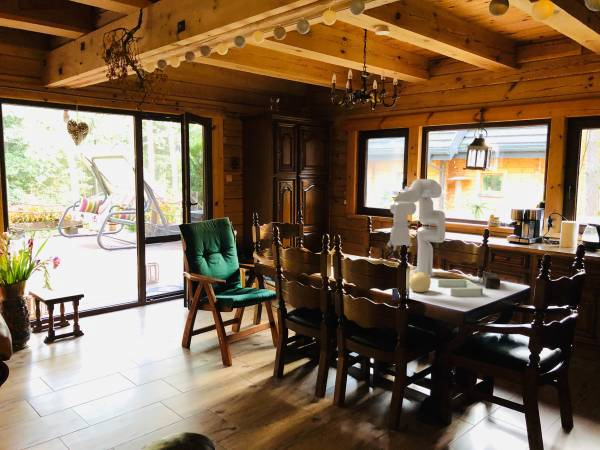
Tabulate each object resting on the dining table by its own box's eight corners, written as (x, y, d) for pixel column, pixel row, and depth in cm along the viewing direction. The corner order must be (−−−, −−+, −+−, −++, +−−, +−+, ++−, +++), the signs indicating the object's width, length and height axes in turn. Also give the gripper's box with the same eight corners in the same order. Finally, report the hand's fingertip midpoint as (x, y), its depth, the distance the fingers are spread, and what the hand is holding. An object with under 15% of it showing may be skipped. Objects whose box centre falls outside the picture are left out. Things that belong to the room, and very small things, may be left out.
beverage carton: (495, 282, 296) (496, 271, 295) (500, 290, 278) (501, 278, 277) (482, 281, 298) (482, 271, 297) (485, 289, 280) (486, 277, 279)
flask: (408, 298, 257) (408, 278, 256) (410, 299, 254) (410, 279, 253) (391, 298, 256) (391, 278, 255) (392, 300, 254) (393, 280, 252)
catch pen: (437, 286, 285) (438, 279, 284) (466, 286, 285) (466, 279, 285) (451, 296, 262) (451, 288, 262) (482, 295, 263) (482, 288, 263)
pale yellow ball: (431, 289, 276) (432, 271, 275) (428, 294, 265) (429, 275, 264) (411, 287, 281) (411, 269, 279) (407, 292, 270) (408, 273, 268)
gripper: (413, 224, 272) (412, 256, 274) (383, 224, 272) (383, 256, 274) (417, 225, 265) (416, 258, 267) (386, 225, 264) (385, 258, 266)
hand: (399, 257), depth 270 cm, fingers open, 4 cm apart
